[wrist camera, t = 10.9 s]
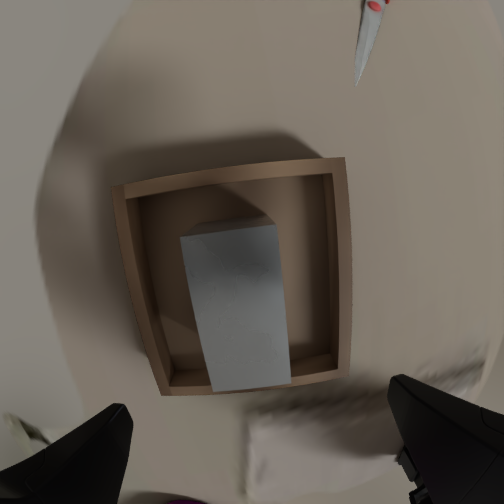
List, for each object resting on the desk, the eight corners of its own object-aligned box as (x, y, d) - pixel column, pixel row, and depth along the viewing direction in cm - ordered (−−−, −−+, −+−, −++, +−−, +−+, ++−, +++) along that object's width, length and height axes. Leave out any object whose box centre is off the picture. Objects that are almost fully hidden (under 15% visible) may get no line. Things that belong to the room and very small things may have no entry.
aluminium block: (280, 336, 18) (291, 383, 13) (219, 344, 18) (213, 391, 13) (266, 213, 16) (276, 224, 12) (198, 223, 16) (179, 237, 12)
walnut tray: (328, 162, 17) (344, 157, 14) (336, 353, 20) (348, 376, 17) (130, 186, 17) (110, 187, 14) (170, 371, 20) (161, 395, 17)
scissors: (339, 99, 16) (346, 92, 15) (328, -66, 12) (332, -75, 11) (430, 124, 17) (441, 121, 15) (399, -44, 12) (405, -50, 11)
